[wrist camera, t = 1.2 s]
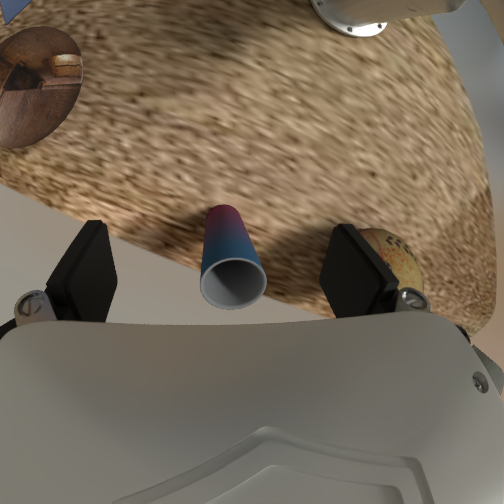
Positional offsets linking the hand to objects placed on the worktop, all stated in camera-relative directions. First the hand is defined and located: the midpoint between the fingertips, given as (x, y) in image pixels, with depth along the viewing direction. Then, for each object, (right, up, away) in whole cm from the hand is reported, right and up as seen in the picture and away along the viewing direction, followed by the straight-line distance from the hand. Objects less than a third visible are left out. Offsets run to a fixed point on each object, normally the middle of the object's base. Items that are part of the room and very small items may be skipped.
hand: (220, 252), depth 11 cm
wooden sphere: (-26, +23, +13) cm, 37 cm away
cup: (-3, +5, +29) cm, 30 cm away
